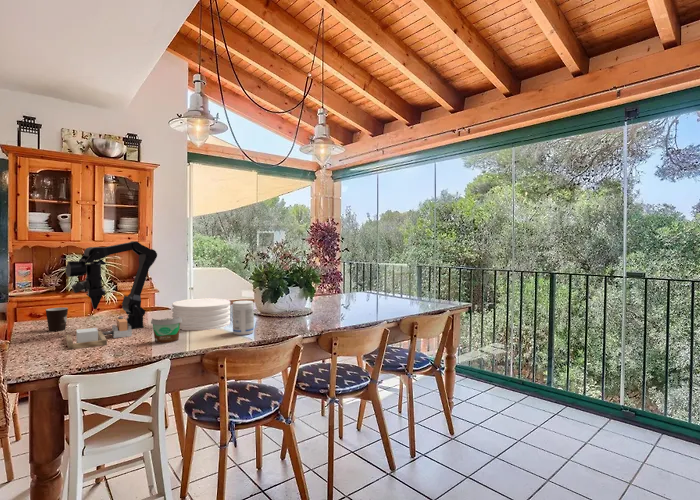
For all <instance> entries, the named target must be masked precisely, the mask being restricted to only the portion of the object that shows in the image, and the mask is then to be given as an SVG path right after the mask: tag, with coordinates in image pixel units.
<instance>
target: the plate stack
mask: <svg viewBox="0 0 700 500" xmlns="http://www.w3.org/2000/svg"><path fill="white" fill-rule="evenodd" d="M171 304H172V305H171V307H172V308H171V310H172V315H171V317H172V319H176V318H180V317H181V318H182V322H180V329H182V330H183V331H206V330H207V331H208V330H215V329H221V328H224V327H228V326H230V325H231V300H229V299H224V298H215V297H214V298H212V297H211V298H208V297H207V298H189V299H182V300H177V301H174V302H172V303H171Z"/></svg>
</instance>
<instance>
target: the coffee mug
mask: <svg viewBox="0 0 700 500" xmlns="http://www.w3.org/2000/svg"><path fill="white" fill-rule="evenodd" d="M68 311H69V307H51V308H46V309H45V313H46V321H47V328H48V329H47V330H48V332H50V333H51V332H52V333H54V332H62V331H65V330H66V327H67V321H68V318H67V317H68Z"/></svg>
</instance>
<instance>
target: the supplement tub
mask: <svg viewBox="0 0 700 500" xmlns="http://www.w3.org/2000/svg"><path fill="white" fill-rule="evenodd" d="M254 316H255V315H254V301H252V300H236V301H233V302H232V333H233V334H234V335H238V336H245V335H250V334H253V333H254V331H255V329H254V328H255V323H254V321H255V317H254Z"/></svg>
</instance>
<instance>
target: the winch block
mask: <svg viewBox="0 0 700 500" xmlns="http://www.w3.org/2000/svg"><path fill="white" fill-rule="evenodd" d="M111 327H112V328H111V330H108V331H102V333H103V335H104V336H108V335H109V336H112V337H113V338H114V339H117V338H125V337H132V336H133V329H131V325H130V324H129V323H127V330H126V331H119V330H118V327H117V324H112V326H111Z"/></svg>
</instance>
